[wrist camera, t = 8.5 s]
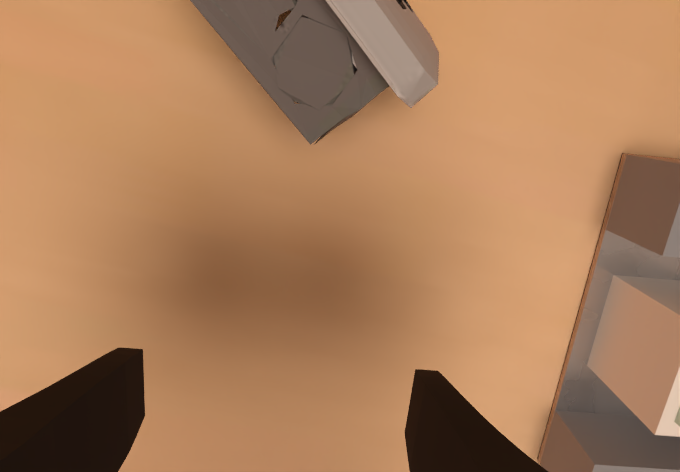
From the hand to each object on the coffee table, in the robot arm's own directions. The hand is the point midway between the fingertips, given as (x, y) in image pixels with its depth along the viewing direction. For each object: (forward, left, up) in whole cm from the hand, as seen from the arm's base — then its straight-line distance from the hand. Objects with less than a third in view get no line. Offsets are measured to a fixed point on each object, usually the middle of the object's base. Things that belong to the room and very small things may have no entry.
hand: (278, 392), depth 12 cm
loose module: (-2, -17, -10) cm, 20 cm away
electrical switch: (+11, 0, -10) cm, 15 cm away
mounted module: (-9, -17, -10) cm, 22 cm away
